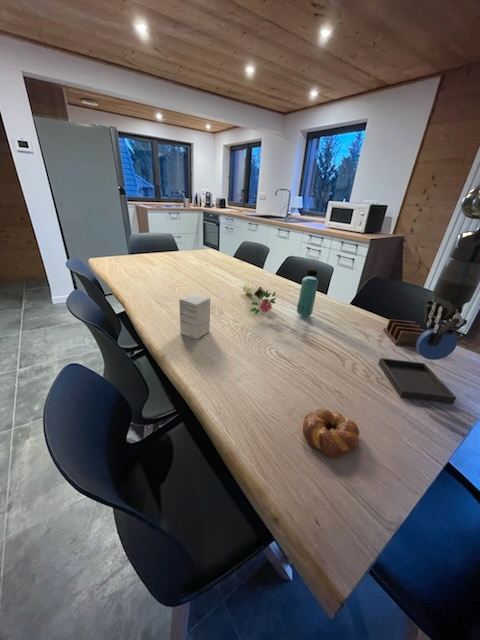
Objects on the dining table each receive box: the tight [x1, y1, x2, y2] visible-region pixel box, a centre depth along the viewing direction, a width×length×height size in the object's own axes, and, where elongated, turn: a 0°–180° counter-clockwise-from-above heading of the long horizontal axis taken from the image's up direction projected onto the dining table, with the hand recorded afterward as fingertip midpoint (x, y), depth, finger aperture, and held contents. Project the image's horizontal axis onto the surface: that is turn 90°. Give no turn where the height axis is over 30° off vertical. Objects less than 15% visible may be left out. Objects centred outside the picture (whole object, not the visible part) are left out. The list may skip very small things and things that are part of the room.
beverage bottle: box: [296, 268, 319, 317], centre depth 106 cm, size 6×7×20 cm
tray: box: [378, 357, 457, 405], centre depth 74 cm, size 13×15×2 cm
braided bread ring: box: [302, 408, 361, 458], centre depth 55 cm, size 12×11×4 cm
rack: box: [383, 318, 426, 348], centre depth 97 cm, size 11×11×5 cm
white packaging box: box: [178, 292, 211, 340], centre depth 88 cm, size 7×7×13 cm
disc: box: [415, 326, 458, 361], centre depth 69 cm, size 9×2×9 cm, turn 84°
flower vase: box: [242, 283, 277, 315], centre depth 113 cm, size 12×12×35 cm
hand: (429, 342), depth 69 cm, fingers closed on disc, 1 cm apart
